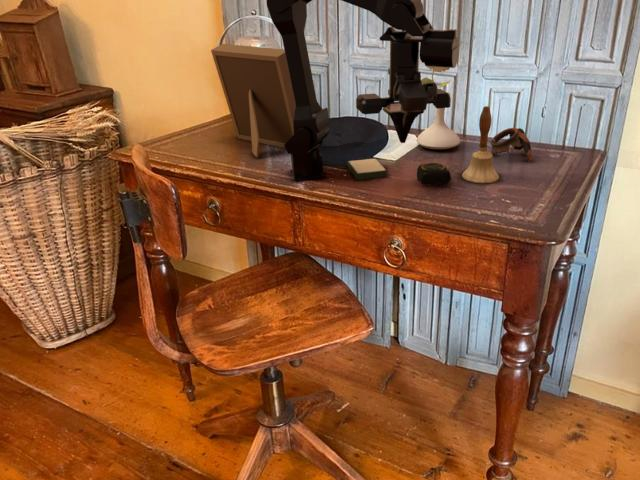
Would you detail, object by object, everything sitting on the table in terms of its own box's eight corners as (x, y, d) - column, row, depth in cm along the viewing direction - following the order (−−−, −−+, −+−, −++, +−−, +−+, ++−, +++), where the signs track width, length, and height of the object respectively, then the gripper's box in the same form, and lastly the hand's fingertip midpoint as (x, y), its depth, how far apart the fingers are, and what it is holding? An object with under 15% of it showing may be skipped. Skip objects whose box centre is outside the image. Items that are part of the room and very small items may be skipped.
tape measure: (420, 189, 125) (420, 172, 123) (413, 178, 131) (414, 162, 129) (450, 187, 125) (451, 171, 124) (442, 176, 131) (443, 161, 130)
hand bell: (498, 184, 127) (507, 112, 119) (461, 182, 128) (466, 110, 120) (498, 172, 134) (506, 102, 126) (462, 170, 135) (468, 101, 127)
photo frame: (248, 134, 163) (237, 41, 151) (309, 146, 153) (303, 46, 140) (210, 148, 152) (195, 48, 140) (273, 161, 142) (263, 55, 130)
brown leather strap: (531, 167, 137) (517, 139, 134) (495, 178, 143) (481, 150, 140) (541, 141, 145) (528, 114, 141) (507, 152, 151) (494, 126, 147)
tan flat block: (357, 180, 130) (356, 173, 129) (347, 167, 138) (347, 161, 137) (386, 176, 132) (386, 170, 131) (375, 164, 139) (375, 158, 138)
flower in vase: (468, 147, 150) (476, 46, 138) (438, 156, 144) (444, 51, 132) (432, 136, 159) (437, 40, 147) (403, 144, 153) (405, 45, 140)
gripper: (370, 75, 104) (370, 158, 112) (464, 69, 109) (458, 149, 116) (354, 65, 114) (356, 142, 121) (442, 60, 118) (438, 134, 126)
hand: (402, 142), depth 121 cm, fingers closed
